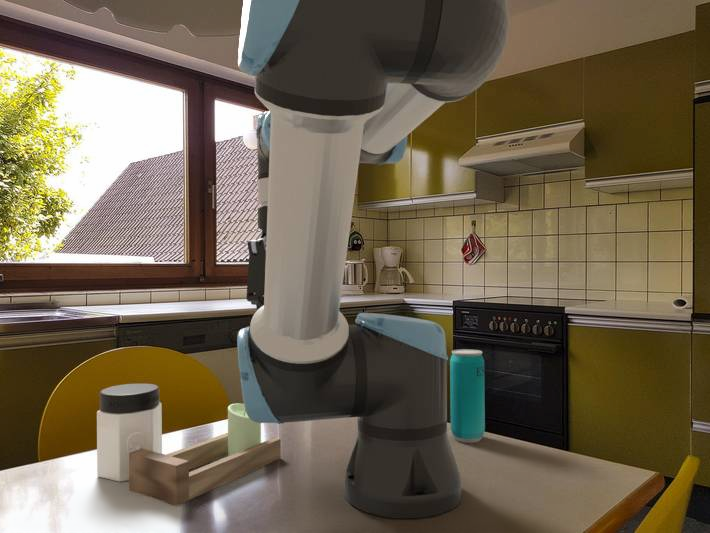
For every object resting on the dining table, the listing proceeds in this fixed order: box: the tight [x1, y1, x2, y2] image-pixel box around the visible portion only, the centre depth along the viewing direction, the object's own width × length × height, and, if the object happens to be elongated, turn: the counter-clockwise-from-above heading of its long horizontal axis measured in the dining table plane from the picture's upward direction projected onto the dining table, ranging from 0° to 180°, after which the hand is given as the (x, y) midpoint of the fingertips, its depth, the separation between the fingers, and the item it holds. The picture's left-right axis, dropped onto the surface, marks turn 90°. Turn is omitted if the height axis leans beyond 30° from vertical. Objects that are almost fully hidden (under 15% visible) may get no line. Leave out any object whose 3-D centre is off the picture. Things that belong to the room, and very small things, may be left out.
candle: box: [227, 402, 262, 457], centre depth 86 cm, size 5×5×8 cm
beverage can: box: [449, 348, 486, 444], centre depth 95 cm, size 6×6×15 cm
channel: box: [128, 432, 282, 507], centre depth 80 cm, size 9×20×5 cm, turn 148°
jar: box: [96, 382, 163, 483], centre depth 81 cm, size 9×8×12 cm
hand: (281, 341), depth 93 cm, fingers open, 7 cm apart
